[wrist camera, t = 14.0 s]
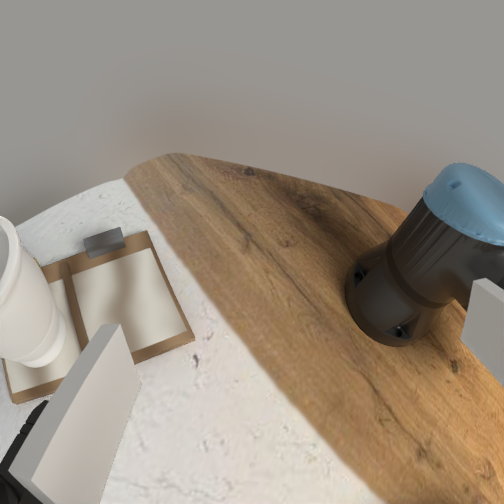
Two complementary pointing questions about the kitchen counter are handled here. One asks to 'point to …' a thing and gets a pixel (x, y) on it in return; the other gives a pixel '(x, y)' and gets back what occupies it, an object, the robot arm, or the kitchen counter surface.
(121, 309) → the tag board
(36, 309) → the jar
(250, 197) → the kitchen counter surface
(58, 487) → the robot arm
